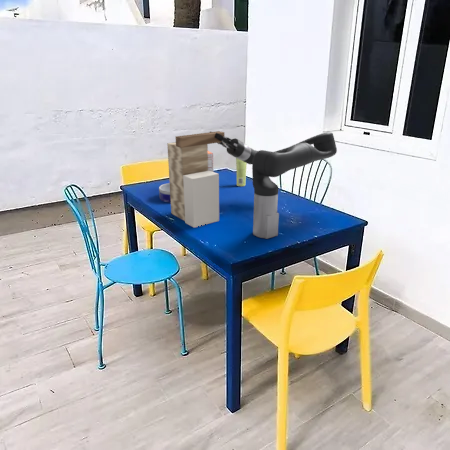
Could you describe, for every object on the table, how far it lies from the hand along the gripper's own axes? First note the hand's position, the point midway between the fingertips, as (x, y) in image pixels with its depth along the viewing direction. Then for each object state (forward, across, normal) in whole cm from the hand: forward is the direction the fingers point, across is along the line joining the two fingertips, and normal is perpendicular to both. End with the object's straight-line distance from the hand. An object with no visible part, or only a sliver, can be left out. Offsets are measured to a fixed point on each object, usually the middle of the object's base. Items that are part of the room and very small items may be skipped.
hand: (212, 134), depth 167 cm
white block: (-8, -7, -36) cm, 38 cm away
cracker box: (-33, +33, -22) cm, 52 cm away
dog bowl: (-15, +29, -33) cm, 46 cm away
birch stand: (-9, +4, -36) cm, 37 cm away
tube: (-50, +25, -12) cm, 57 cm away
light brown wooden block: (+4, 0, -6) cm, 7 cm away
